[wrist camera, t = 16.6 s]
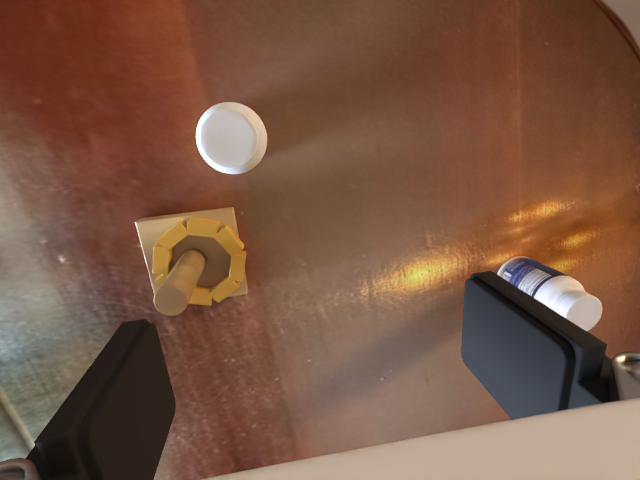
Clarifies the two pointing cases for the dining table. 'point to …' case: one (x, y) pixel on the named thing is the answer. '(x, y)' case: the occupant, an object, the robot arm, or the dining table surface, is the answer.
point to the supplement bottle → (231, 138)
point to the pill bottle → (553, 290)
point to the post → (187, 259)
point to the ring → (205, 229)
